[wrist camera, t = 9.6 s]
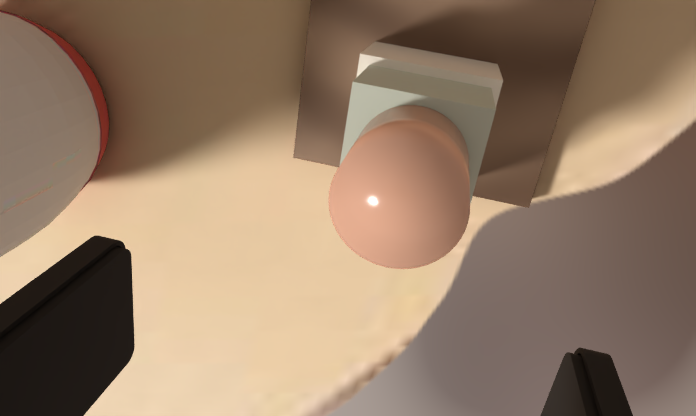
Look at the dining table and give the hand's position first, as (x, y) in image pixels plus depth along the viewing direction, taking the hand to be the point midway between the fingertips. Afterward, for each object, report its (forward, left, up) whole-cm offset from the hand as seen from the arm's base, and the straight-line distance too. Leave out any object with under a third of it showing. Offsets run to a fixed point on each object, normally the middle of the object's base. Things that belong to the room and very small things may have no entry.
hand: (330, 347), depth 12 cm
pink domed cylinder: (0, +1, -14) cm, 14 cm away
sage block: (0, +1, -18) cm, 18 cm away
